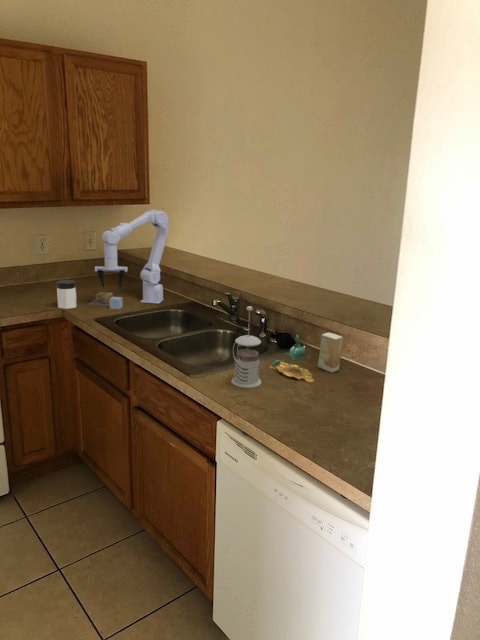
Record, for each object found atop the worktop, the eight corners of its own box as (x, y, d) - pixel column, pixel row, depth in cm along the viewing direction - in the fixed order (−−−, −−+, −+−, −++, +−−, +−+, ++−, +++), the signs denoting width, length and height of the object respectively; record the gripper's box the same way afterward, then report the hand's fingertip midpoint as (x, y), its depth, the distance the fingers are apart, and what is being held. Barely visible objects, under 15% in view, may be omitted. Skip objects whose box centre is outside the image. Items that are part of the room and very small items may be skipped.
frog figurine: (283, 362, 186) (290, 324, 181) (321, 384, 173) (329, 343, 168) (264, 368, 180) (270, 328, 174) (301, 391, 167) (309, 349, 162)
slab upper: (112, 296, 254) (112, 292, 253) (107, 299, 248) (107, 295, 248) (100, 295, 255) (100, 291, 254) (95, 298, 249) (95, 294, 248)
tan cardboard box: (112, 300, 254) (112, 296, 254) (108, 303, 249) (107, 299, 248) (101, 299, 255) (100, 295, 255) (95, 302, 250) (95, 298, 249)
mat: (120, 300, 257) (120, 299, 257) (111, 306, 246) (111, 305, 246) (97, 298, 259) (97, 297, 258) (87, 304, 247) (87, 304, 247)
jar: (76, 309, 239) (75, 283, 236) (57, 309, 237) (55, 283, 234) (77, 304, 248) (75, 279, 244) (58, 304, 246) (57, 279, 242)
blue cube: (122, 307, 245) (122, 297, 244) (119, 310, 241) (118, 299, 240) (113, 307, 246) (113, 296, 244) (109, 309, 242) (109, 299, 240)
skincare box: (317, 367, 182) (320, 334, 178) (325, 364, 185) (328, 331, 181) (332, 373, 178) (335, 338, 174) (340, 370, 181) (343, 336, 177)
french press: (242, 390, 161) (246, 312, 154) (221, 377, 170) (224, 303, 163) (267, 383, 167) (272, 307, 160) (246, 371, 176) (249, 299, 169)
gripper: (127, 256, 245) (128, 284, 249) (95, 255, 243) (97, 284, 247) (126, 259, 238) (127, 288, 242) (93, 258, 236) (94, 287, 240)
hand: (111, 286), depth 244 cm, fingers open, 7 cm apart
